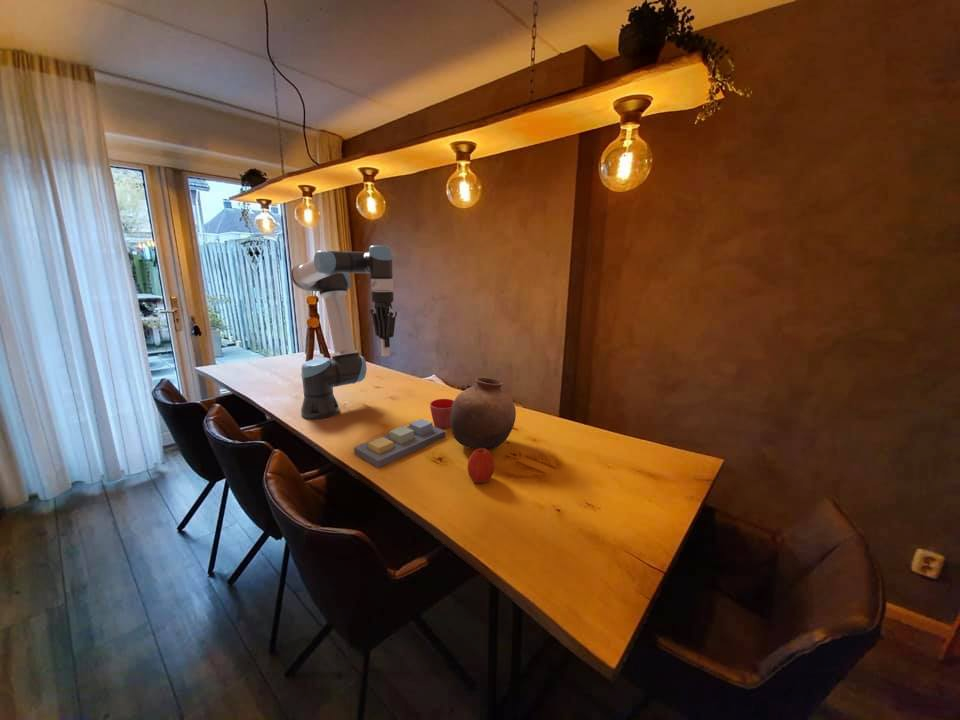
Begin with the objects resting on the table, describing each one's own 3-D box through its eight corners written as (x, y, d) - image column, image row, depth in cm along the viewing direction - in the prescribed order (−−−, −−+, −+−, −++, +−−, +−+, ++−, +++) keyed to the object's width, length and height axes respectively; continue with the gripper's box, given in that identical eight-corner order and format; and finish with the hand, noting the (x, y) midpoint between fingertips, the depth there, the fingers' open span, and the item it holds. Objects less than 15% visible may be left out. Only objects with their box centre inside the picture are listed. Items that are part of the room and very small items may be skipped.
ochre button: (368, 452, 129) (368, 442, 129) (383, 445, 134) (382, 436, 133) (379, 457, 126) (378, 448, 125) (393, 451, 130) (393, 441, 129)
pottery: (440, 454, 130) (439, 385, 124) (465, 428, 152) (466, 368, 145) (504, 467, 123) (506, 393, 117) (521, 437, 144) (524, 374, 138)
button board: (354, 453, 130) (353, 447, 129) (420, 426, 152) (420, 421, 152) (378, 467, 121) (378, 460, 121) (445, 437, 144) (445, 431, 143)
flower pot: (453, 432, 148) (453, 409, 145) (426, 429, 150) (426, 406, 147) (460, 421, 158) (460, 399, 155) (435, 419, 160) (434, 397, 158)
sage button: (390, 440, 136) (389, 431, 135) (403, 434, 140) (403, 425, 140) (400, 445, 132) (400, 435, 131) (414, 439, 137) (413, 430, 136)
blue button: (409, 432, 143) (409, 423, 142) (421, 427, 147) (421, 418, 146) (420, 436, 139) (420, 427, 138) (432, 431, 143) (432, 422, 142)
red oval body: (485, 491, 110) (485, 457, 107) (461, 482, 114) (461, 449, 111) (499, 478, 116) (499, 446, 114) (476, 470, 121) (476, 439, 118)
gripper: (362, 290, 136) (366, 354, 142) (384, 292, 128) (387, 360, 134) (380, 289, 142) (383, 351, 147) (402, 291, 133) (404, 356, 139)
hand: (385, 355), depth 140 cm, fingers closed
